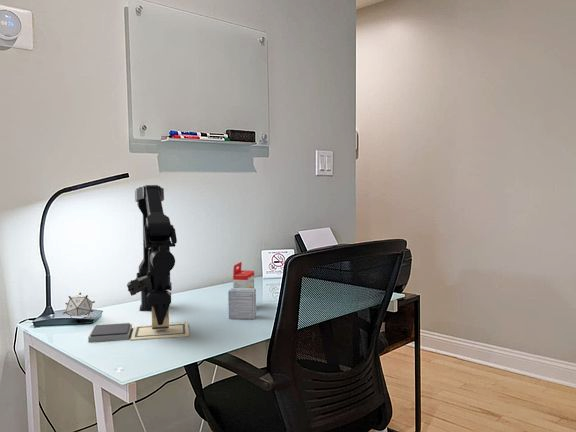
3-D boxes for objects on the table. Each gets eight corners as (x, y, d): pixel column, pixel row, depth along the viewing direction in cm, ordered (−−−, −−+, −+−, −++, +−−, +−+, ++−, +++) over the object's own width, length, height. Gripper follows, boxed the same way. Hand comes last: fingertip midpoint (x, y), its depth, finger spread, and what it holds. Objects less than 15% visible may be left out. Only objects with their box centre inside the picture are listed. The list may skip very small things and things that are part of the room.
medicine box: (256, 315, 152) (256, 288, 152) (254, 319, 148) (253, 291, 147) (231, 315, 153) (231, 287, 152) (228, 319, 149) (227, 290, 148)
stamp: (152, 324, 138) (152, 303, 137) (169, 323, 139) (168, 302, 138) (152, 329, 134) (151, 307, 133) (168, 328, 135) (168, 306, 134)
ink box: (247, 311, 157) (247, 266, 156) (232, 311, 158) (232, 265, 157) (254, 305, 165) (254, 261, 164) (240, 304, 166) (240, 261, 165)
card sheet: (134, 327, 140) (134, 325, 140) (187, 323, 144) (187, 322, 144) (130, 340, 129) (130, 338, 129) (188, 336, 132) (188, 334, 132)
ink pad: (94, 330, 137) (94, 324, 137) (132, 328, 139) (131, 322, 139) (88, 342, 127) (88, 335, 127) (128, 339, 130) (128, 332, 130)
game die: (75, 334, 146) (52, 312, 141) (78, 317, 153) (57, 295, 148) (101, 319, 146) (80, 296, 141) (103, 303, 153) (83, 280, 149)
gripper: (131, 262, 142) (132, 315, 143) (125, 274, 124) (126, 334, 125) (171, 260, 145) (172, 312, 146) (170, 272, 127) (171, 331, 128)
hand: (160, 322), depth 136 cm, fingers closed on stamp, 4 cm apart
